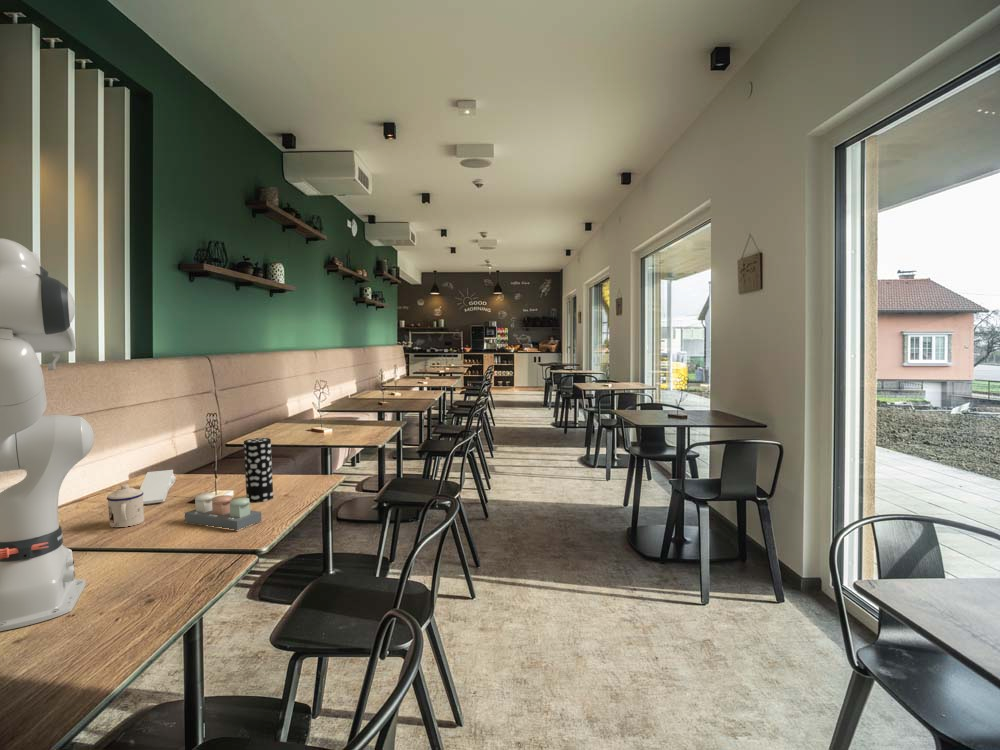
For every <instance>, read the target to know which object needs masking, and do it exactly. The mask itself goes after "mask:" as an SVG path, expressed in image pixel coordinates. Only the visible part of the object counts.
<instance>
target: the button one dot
mask: <svg viewBox="0 0 1000 750" xmlns="http://www.w3.org/2000/svg"><path fill="white" fill-rule="evenodd" d="M214 497H216V495H215V493H213V492H205V493H200V494H199V493H198V494H197V495H195V496H194V499H195V500H194V501H195V502H194V503H195V505H194V506H195V509H196V511H197V512H203V513H205V512H208V511H211V510H212V498H214Z"/></svg>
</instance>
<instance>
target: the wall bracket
mask: <svg viewBox="0 0 1000 750" xmlns="http://www.w3.org/2000/svg"><path fill="white" fill-rule="evenodd" d="M176 480H177V479H176V476H175V473H174V469H166V470H156V471H148V472H147V473H146V474H145V477H144V478H143V481H142V483H141V485H140V488H139V489H140V490H142V491H143V493H144V494H143V505H149V504H156V503H157V504H158V503H164V502H165V500H166V498H167V496H168V493H169V490H170V488H171V487H173V485H174V483H175V482H176Z"/></svg>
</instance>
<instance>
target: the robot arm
mask: <svg viewBox="0 0 1000 750" xmlns="http://www.w3.org/2000/svg"><path fill="white" fill-rule="evenodd" d="M75 315H76V304H75V300H74V297H73V295H72V294H71V292H70V291H69V288H68V286H66V285H65V284H64V283H62V282H61V281H60V280H58V279H56V278H54V277H50V276H49V271H48V270H46V269H45V268H44V267H42V264H41V262H40V257H39V255H38V254H37V253H36V252H34V251H31V250H29V249H28V248H27V247H26V246H24V245H22V244H20V242H19V243H18V242H16V241H15V240H12V239H7V238H3V237H1V238H0V473H3V472H10V471H18V470H21V471H22V470H23V471H25V472H26V475H25V477H24V478H23V479H22V480H20V481H19V482H17V483H15V484H13V485H11V486H9V487H7V488H5V489H4V490H2V491H0V632H2V631H9V630H13V629H14V630H15V629H17V628H23V627H26V626H31V625H34V624H35V625H36V624H37V623H41V622H46V621H48V620H51V619H54V618H57V617H60V616H63V615H65V614H67V613H69V612H71V611H72V610H73V609H74V607H75V605H76V604H77V602H78V601H79V598H80V597H81V596H80V595H82V592H83V590H84V589H85V587H86V585H87V583H86V582H87V581H86V579H84V578H76V571H75V569H74V568H75V567H74V565H75V560H74V559H73V551H72V549H70V548H68V547H66V546H65V545H64V544H63V541H64V540H63V539H64V537H63V536H64V534H63V533H64V532H63V530H62V526H61V525H59V524H60V523H59V496H60V489H61V487H62V484H63V482H64V480H65V478H66V477H67V474H68V473H69V472H70V471H71V470H72V469H73V468H74V467H75V466H76V465H77V464H78V463H79V462H81V461H82V460H84V458H86V457H87V456H88V454H90V452H91V450H92V449H93V446H94V443H95V432H94V429H93V428H92V425H91V424H90V423H89V422H88V421H87V420H86V419H85V418H84V417H82V416H80V415H69V414H56V413H55V414H46V415H45V414H44V413H45V412H46V410H47V407H48V401H47V394H46V387H45V386H46V385H45V380H44V379H45V378H44V373H43V369H42V366H41V362H40V361H39V357H38V356H37V354H38V353H41V354H42V353H52V356H53V358H54V360H53V361H52V362H48V363H47V370H48V371H56V363H57V362H58V361H59V359H60V357H61V353H66V352H67V353H72V352H74V351H75V350H76V349H77V344H76V338H75V334H74V331H73V328H72V326H71V323H72V322H73V320H74V318H75Z"/></svg>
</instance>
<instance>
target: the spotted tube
mask: <svg viewBox="0 0 1000 750" xmlns="http://www.w3.org/2000/svg"><path fill="white" fill-rule="evenodd" d="M243 454H244V456H243V457H244V473H245V475H244V476H245V492H246V493H245V494H246V497H245V498H249V502H250V503H261V502H262V503H264V502H266V501H270V500H272V499H274V487H273V486H274V484H273V463H272V459H273V458H272V441H271V438H269V437H258V438H248V439H245V440H244V441H243Z"/></svg>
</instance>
